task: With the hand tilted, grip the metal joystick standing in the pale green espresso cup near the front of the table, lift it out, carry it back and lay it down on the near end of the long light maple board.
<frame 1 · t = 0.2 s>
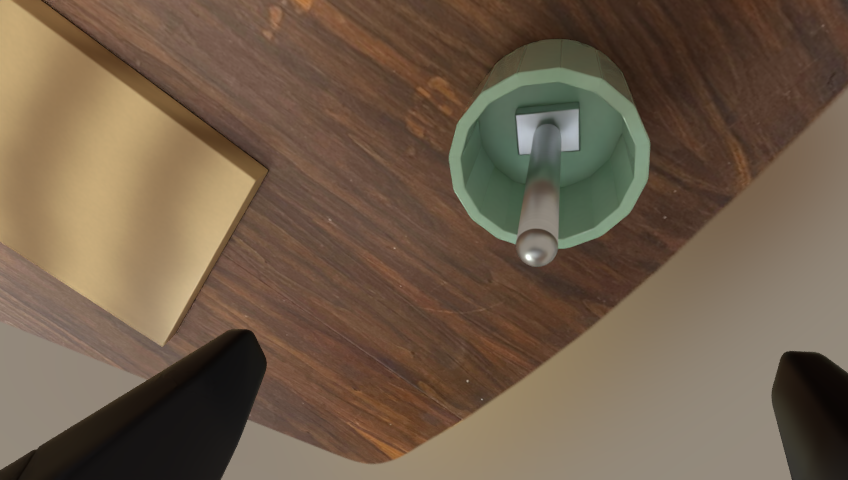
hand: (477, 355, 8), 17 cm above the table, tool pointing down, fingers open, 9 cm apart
cup: (548, 121, 23), on the table
metal joystick: (548, 125, 22), point 1 cm above the table, touching cup
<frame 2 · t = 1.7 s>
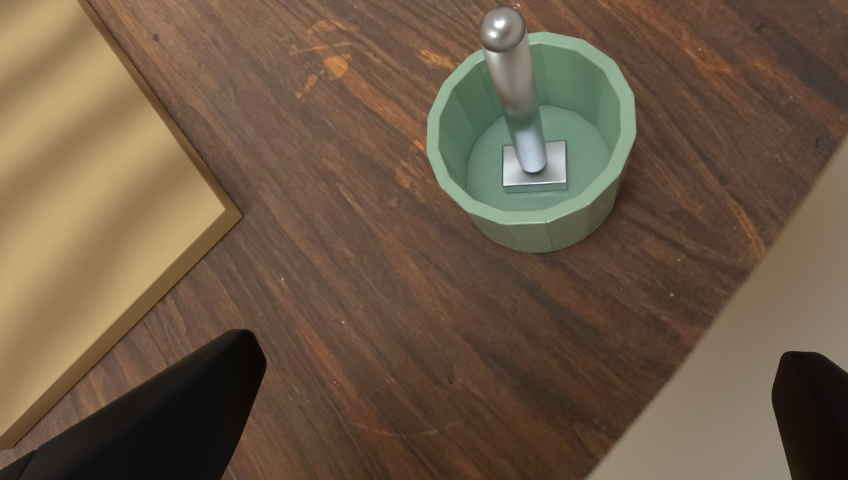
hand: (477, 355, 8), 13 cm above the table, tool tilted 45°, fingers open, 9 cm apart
cup: (536, 175, 22), on the table
metal joystick: (535, 171, 22), point 1 cm above the table, touching cup
board: (13, 125, 35), on the table
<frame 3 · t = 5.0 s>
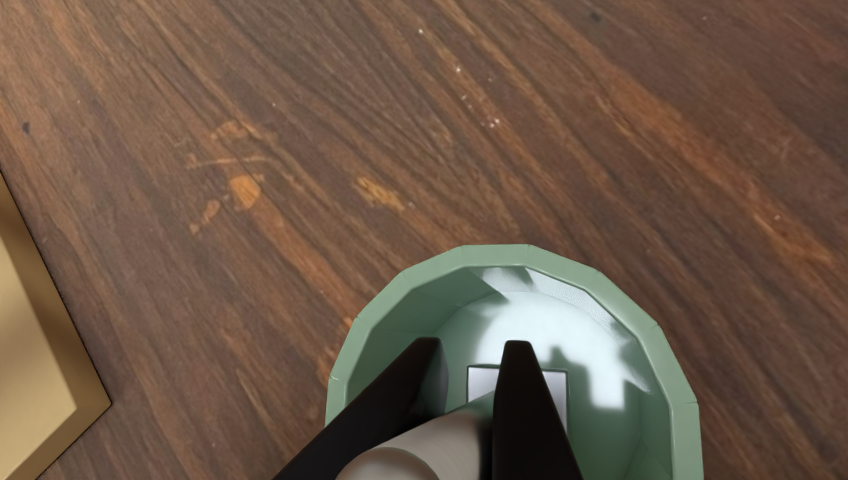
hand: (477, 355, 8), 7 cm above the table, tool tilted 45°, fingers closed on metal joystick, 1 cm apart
cup: (521, 399, 15), on the table
metal joystick: (519, 401, 14), point 1 cm above the table, touching cup, gripper
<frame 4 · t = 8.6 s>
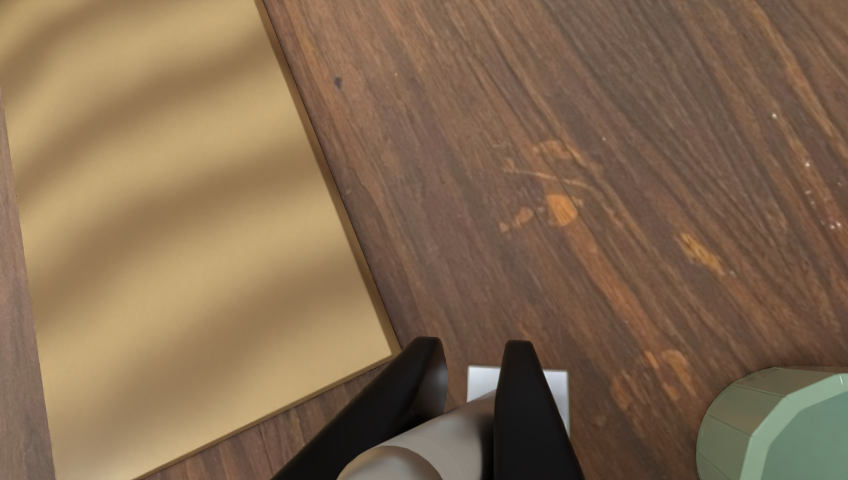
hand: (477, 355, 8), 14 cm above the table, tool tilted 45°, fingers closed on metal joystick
cup: (811, 471, 17), on the table
metal joystick: (520, 401, 14), point 7 cm above the table, touching gripper
board: (152, 126, 31), on the table
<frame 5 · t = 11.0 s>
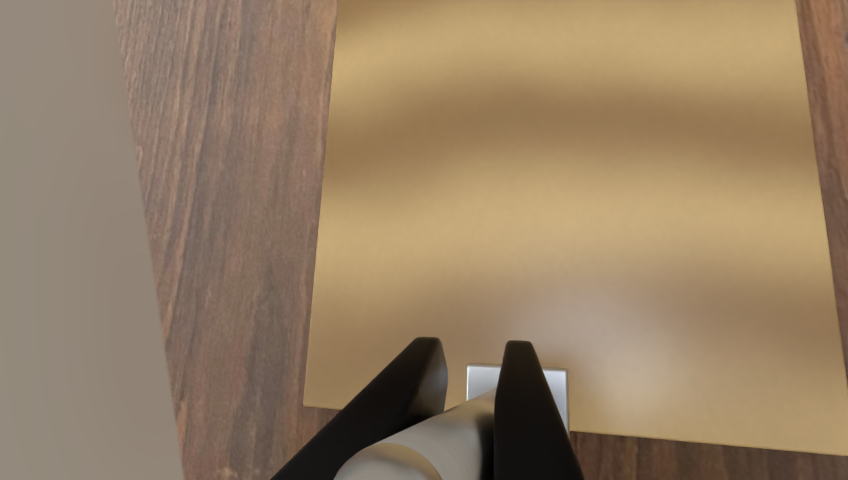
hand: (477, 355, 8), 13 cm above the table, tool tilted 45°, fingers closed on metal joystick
metal joystick: (519, 400, 14), point 6 cm above the table, touching gripper
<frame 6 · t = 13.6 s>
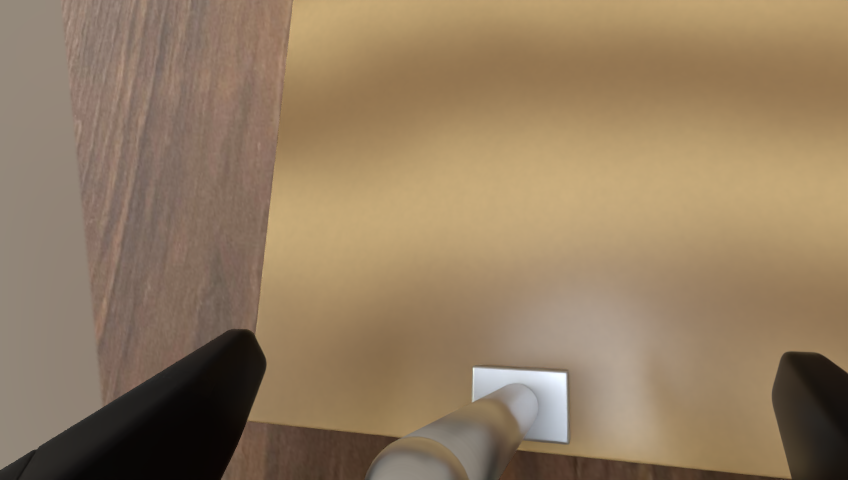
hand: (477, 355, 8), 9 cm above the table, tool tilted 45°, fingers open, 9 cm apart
metal joystick: (522, 400, 15), point 1 cm above the table, touching board
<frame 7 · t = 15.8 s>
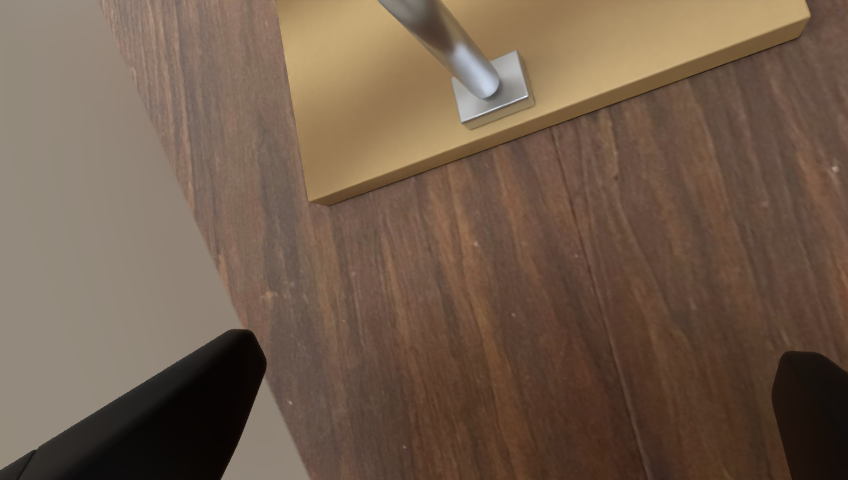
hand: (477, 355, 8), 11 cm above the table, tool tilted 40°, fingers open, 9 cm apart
metal joystick: (496, 95, 19), point 1 cm above the table, touching board
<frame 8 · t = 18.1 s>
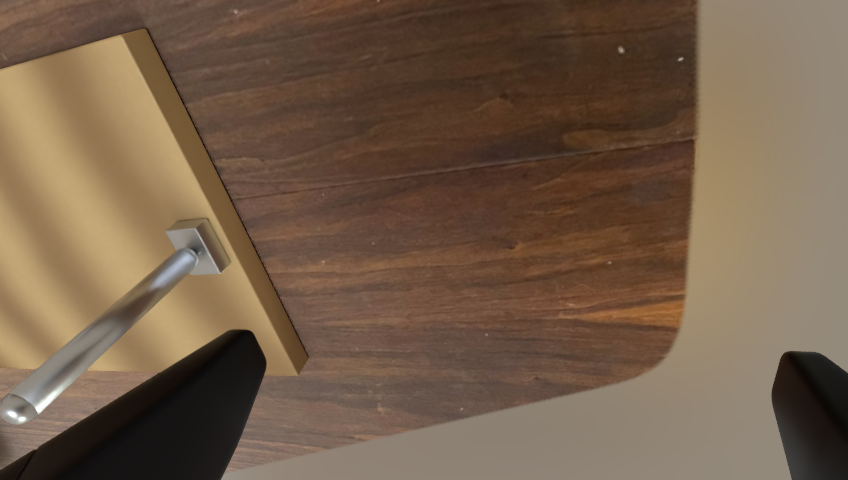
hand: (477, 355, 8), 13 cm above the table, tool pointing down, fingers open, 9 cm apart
metal joystick: (204, 242, 25), point 1 cm above the table, touching board
board: (0, 248, 32), on the table
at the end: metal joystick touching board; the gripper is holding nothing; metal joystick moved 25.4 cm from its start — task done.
